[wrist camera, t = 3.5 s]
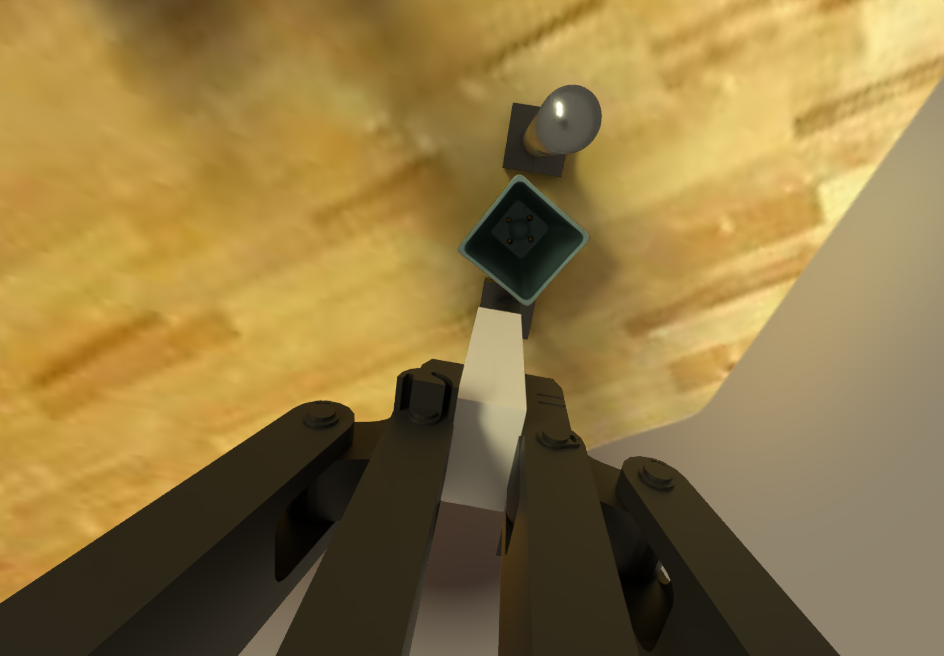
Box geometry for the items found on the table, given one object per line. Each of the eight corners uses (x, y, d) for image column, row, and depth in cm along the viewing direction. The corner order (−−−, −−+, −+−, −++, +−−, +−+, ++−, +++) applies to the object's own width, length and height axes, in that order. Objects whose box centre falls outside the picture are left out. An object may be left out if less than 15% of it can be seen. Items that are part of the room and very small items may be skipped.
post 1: (484, 277, 51) (464, 383, 27) (536, 286, 51) (563, 399, 27) (477, 326, 54) (451, 464, 29) (526, 334, 53) (543, 480, 29)
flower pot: (578, 223, 49) (593, 236, 40) (524, 284, 51) (527, 308, 43) (516, 169, 47) (518, 171, 39) (464, 234, 50) (455, 250, 42)
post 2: (512, 104, 45) (519, 38, 21) (572, 113, 45) (649, 58, 21) (502, 167, 47) (498, 175, 23) (559, 176, 47) (615, 193, 23)
